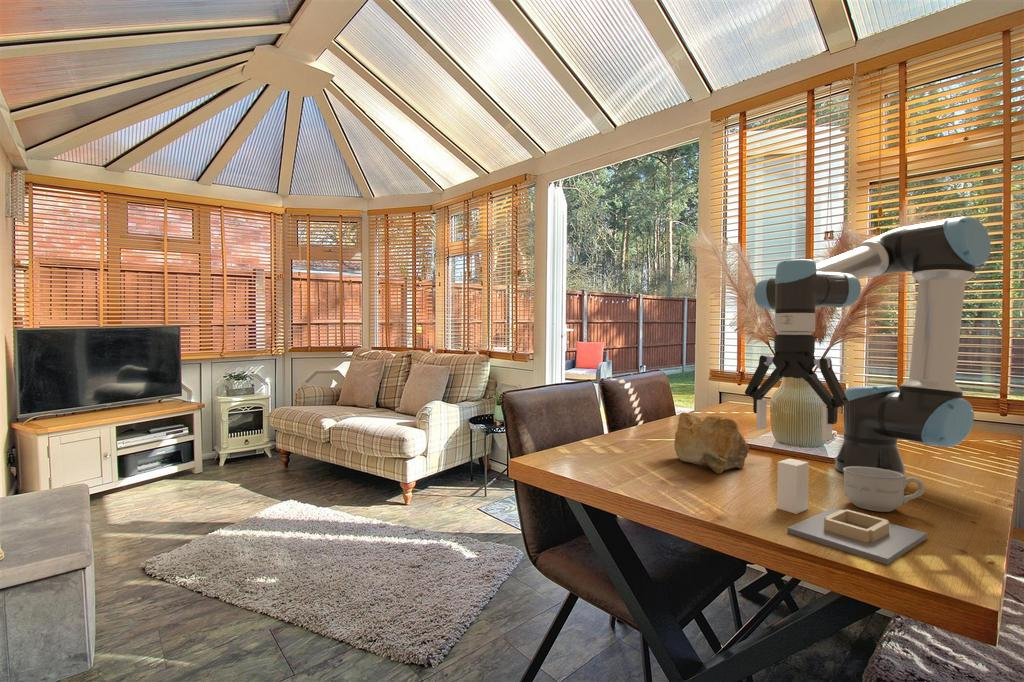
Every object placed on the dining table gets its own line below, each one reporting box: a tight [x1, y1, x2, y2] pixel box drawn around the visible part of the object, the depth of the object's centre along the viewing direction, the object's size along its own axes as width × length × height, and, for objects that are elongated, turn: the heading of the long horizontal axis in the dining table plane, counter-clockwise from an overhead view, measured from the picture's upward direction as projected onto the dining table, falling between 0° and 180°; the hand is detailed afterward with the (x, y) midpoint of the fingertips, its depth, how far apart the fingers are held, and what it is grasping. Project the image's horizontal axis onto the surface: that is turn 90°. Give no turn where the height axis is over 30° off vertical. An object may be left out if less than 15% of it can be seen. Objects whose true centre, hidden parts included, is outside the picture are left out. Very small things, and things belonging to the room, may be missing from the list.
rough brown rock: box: [674, 411, 750, 474], centre depth 143 cm, size 23×17×15 cm
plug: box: [776, 458, 810, 515], centre depth 109 cm, size 5×4×10 cm
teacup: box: [843, 466, 926, 513], centre depth 109 cm, size 14×11×8 cm
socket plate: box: [786, 507, 928, 566], centre depth 95 cm, size 18×16×3 cm
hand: (792, 434), depth 109 cm, fingers open, 13 cm apart
